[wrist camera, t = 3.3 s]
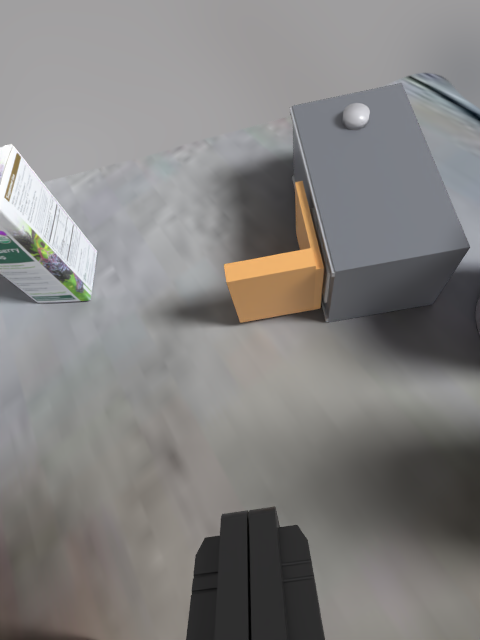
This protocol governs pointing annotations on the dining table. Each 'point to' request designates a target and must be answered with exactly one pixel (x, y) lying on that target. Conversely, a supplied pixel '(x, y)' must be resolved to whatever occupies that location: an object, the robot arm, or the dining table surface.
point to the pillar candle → (478, 315)
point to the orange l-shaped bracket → (280, 274)
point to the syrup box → (40, 238)
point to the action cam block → (374, 203)
